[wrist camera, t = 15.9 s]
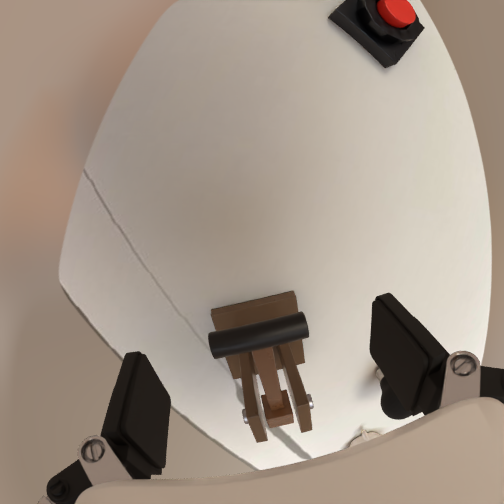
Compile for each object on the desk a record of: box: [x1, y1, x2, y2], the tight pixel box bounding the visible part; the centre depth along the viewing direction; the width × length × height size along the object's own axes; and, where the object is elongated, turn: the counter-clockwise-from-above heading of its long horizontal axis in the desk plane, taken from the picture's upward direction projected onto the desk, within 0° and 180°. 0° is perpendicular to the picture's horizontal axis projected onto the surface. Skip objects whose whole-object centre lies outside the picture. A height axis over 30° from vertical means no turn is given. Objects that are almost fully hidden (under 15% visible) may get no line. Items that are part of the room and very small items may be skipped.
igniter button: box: [377, 0, 416, 28], centre depth 16 cm, size 4×4×2 cm
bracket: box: [211, 291, 313, 443], centre depth 26 cm, size 10×9×13 cm
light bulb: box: [376, 368, 412, 420], centre depth 32 cm, size 6×6×10 cm
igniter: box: [328, 0, 424, 68], centre depth 19 cm, size 8×8×4 cm
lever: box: [208, 312, 309, 428], centre depth 18 cm, size 14×5×2 cm, turn 12°
